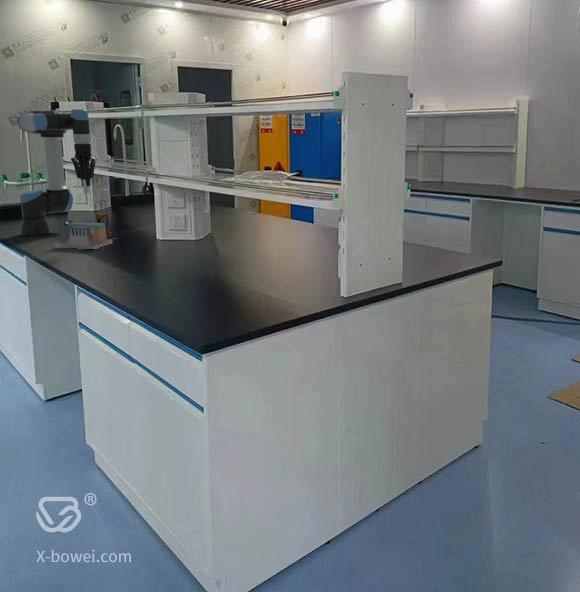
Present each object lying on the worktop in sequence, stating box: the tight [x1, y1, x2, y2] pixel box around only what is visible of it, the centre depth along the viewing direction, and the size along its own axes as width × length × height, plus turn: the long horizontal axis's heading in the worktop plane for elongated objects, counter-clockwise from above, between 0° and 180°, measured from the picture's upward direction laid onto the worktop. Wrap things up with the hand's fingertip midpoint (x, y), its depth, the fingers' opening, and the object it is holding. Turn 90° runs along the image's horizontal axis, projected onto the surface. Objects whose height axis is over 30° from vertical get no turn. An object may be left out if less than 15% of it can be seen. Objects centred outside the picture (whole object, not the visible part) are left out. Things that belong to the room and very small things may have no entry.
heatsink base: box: [54, 219, 114, 251], centre depth 305 cm, size 22×16×12 cm
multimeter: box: [94, 199, 117, 240], centre depth 323 cm, size 15×10×20 cm
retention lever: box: [64, 221, 105, 228], centre depth 304 cm, size 21×6×2 cm, turn 74°
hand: (86, 193), depth 302 cm, fingers closed
